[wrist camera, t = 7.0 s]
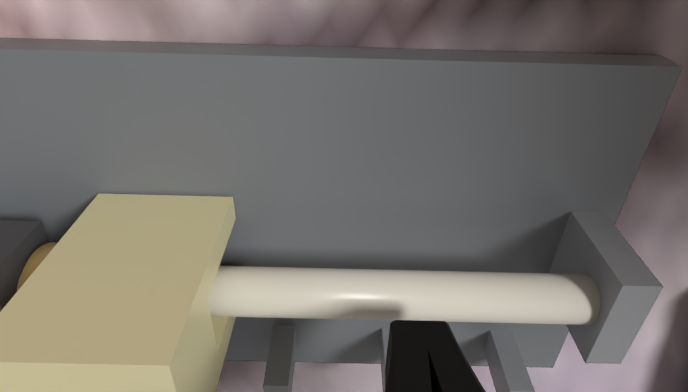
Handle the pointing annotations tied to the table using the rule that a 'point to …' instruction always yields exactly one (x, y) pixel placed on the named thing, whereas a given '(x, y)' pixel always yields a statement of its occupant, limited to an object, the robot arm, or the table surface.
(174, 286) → the cream block on rod
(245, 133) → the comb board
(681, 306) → the table surface
